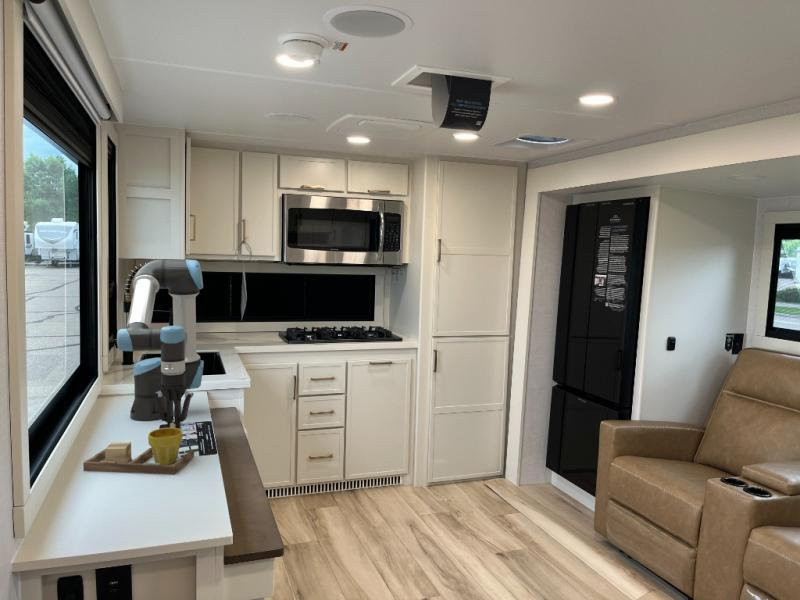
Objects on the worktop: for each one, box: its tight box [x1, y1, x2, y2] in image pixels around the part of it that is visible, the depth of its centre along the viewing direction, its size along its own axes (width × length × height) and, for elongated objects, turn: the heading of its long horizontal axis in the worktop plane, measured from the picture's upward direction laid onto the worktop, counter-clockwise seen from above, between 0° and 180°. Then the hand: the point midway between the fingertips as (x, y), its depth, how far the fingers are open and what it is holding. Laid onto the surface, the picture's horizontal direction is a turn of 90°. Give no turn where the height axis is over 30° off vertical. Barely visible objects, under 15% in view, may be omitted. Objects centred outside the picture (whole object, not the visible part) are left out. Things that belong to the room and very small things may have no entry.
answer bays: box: [82, 447, 195, 475], centre depth 189 cm, size 15×29×3 cm, turn 87°
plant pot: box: [147, 427, 184, 465], centre depth 191 cm, size 10×10×10 cm
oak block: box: [104, 441, 133, 463], centre depth 189 cm, size 6×6×6 cm
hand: (174, 441), depth 197 cm, fingers closed
